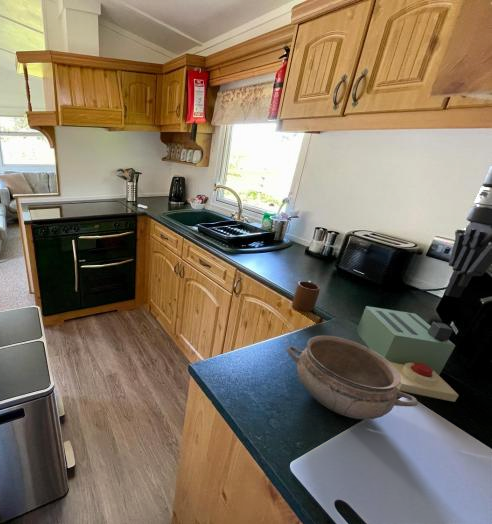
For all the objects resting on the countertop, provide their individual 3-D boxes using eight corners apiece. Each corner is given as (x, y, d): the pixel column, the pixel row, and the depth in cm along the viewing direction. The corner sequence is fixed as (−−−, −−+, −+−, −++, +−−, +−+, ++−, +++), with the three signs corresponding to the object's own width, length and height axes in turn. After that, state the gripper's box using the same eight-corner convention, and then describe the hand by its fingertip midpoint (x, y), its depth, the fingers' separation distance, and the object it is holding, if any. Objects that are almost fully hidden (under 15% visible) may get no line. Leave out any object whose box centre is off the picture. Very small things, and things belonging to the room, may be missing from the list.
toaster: (403, 339, 95) (415, 313, 92) (439, 375, 80) (455, 345, 76) (355, 331, 98) (366, 305, 94) (381, 364, 83) (395, 334, 79)
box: (430, 376, 79) (436, 364, 78) (454, 402, 71) (462, 389, 69) (380, 367, 81) (385, 355, 80) (398, 390, 73) (405, 378, 72)
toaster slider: (439, 334, 80) (445, 323, 79) (447, 341, 78) (453, 329, 76) (427, 332, 81) (432, 321, 80) (434, 338, 78) (440, 327, 77)
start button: (424, 369, 76) (427, 364, 75) (433, 378, 73) (436, 373, 72) (408, 366, 77) (411, 361, 76) (417, 375, 73) (419, 370, 73)
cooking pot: (267, 395, 69) (280, 353, 64) (288, 357, 83) (299, 320, 78) (403, 466, 54) (430, 418, 50) (400, 405, 68) (421, 364, 64)
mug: (295, 296, 120) (300, 276, 117) (315, 302, 117) (322, 281, 113) (290, 307, 111) (296, 285, 108) (312, 314, 107) (319, 291, 104)
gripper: (456, 201, 75) (419, 283, 84) (500, 210, 63) (453, 304, 72) (491, 204, 74) (450, 287, 82) (543, 213, 62) (489, 309, 70)
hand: (451, 295), depth 77 cm, fingers closed
